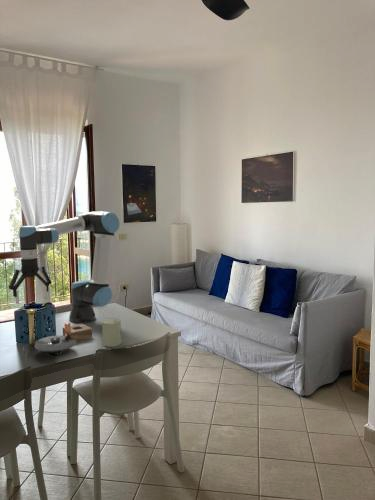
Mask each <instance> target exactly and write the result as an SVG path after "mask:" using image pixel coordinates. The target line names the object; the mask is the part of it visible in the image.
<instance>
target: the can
mask: <svg viewBox="0 0 375 500" xmlns="http://www.w3.org/2000/svg"><path fill="white" fill-rule="evenodd" d="M101 323H102V324H101V325H102V327H101V328H102V329H101V330H102V343H101V344H102V345H103V346H104V347H110V348H111V347H112V348H113V347H117V346H120V345H121V344H122V340H121V339H122V337H121V333H122V331H121V326H122V325H121V319H119V318H105V319H102V321H101Z"/></svg>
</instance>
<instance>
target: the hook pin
mask: <svg viewBox="0 0 375 500" xmlns="http://www.w3.org/2000/svg"><path fill="white" fill-rule="evenodd" d="M35 309H36V308H29V309H26V313H27V315H28V331H29V332H28V335H29V337H28V338H29V345H35V341H34V340H35V333H34V331H35V329H34V320H35V321H36V318H35V319H34V313H35V314H36V312H37V309H36V310H35ZM35 311H36V312H35Z"/></svg>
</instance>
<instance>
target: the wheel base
mask: <svg viewBox="0 0 375 500" xmlns="http://www.w3.org/2000/svg"><path fill="white" fill-rule="evenodd" d="M60 352H61V353H62V352H63V351H57V352H48V353H49V354H50V353H51V354H50V355H57V353H59V354H61V353H60Z"/></svg>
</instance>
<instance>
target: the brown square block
mask: <svg viewBox="0 0 375 500" xmlns="http://www.w3.org/2000/svg"><path fill="white" fill-rule="evenodd" d="M62 335H63V336H65V326H64V327H62ZM71 337H73V338H74V339H75V343H76V341H77V342H80V340H81V341H85V340H90V339H92V338H93V328H92V327H90V326H87V325H86V324H83V323H77V324H74V325H71Z"/></svg>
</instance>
